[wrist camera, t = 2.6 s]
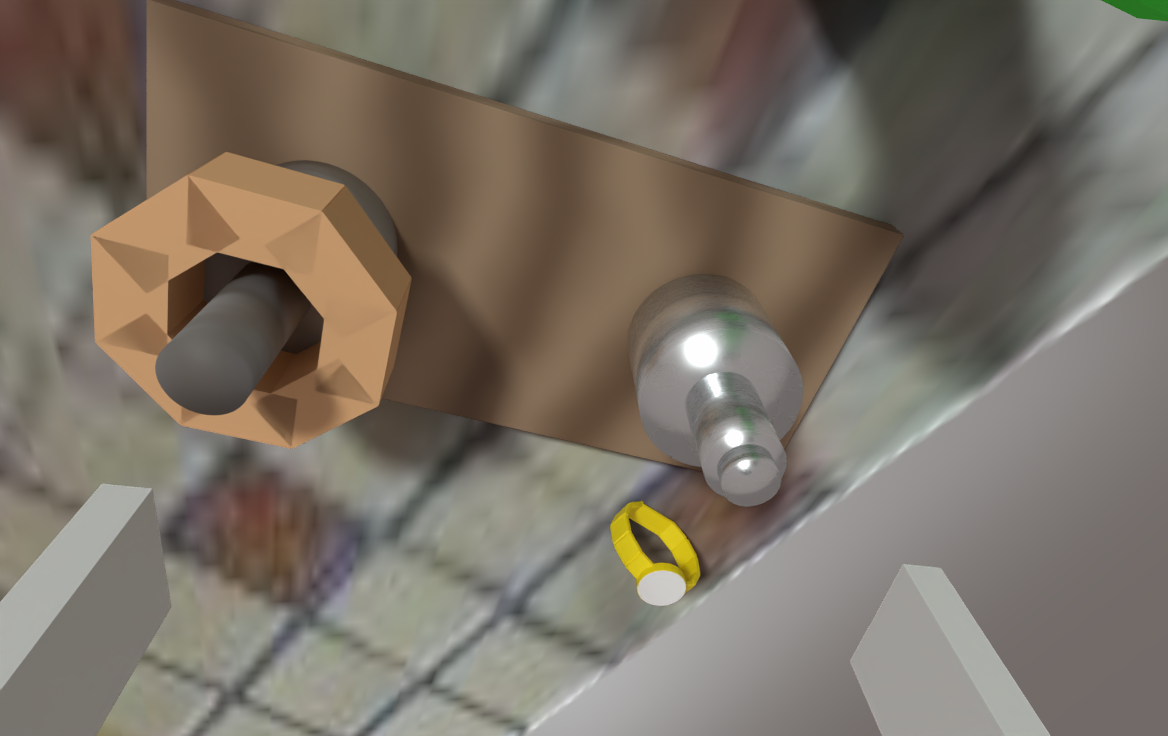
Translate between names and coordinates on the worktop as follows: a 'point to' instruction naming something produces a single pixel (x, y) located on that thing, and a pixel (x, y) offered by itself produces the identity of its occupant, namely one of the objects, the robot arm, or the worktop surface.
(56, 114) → the worktop surface
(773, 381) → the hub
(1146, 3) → the plastic bottle
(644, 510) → the watch
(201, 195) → the octagonal notched ring
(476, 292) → the tool board
